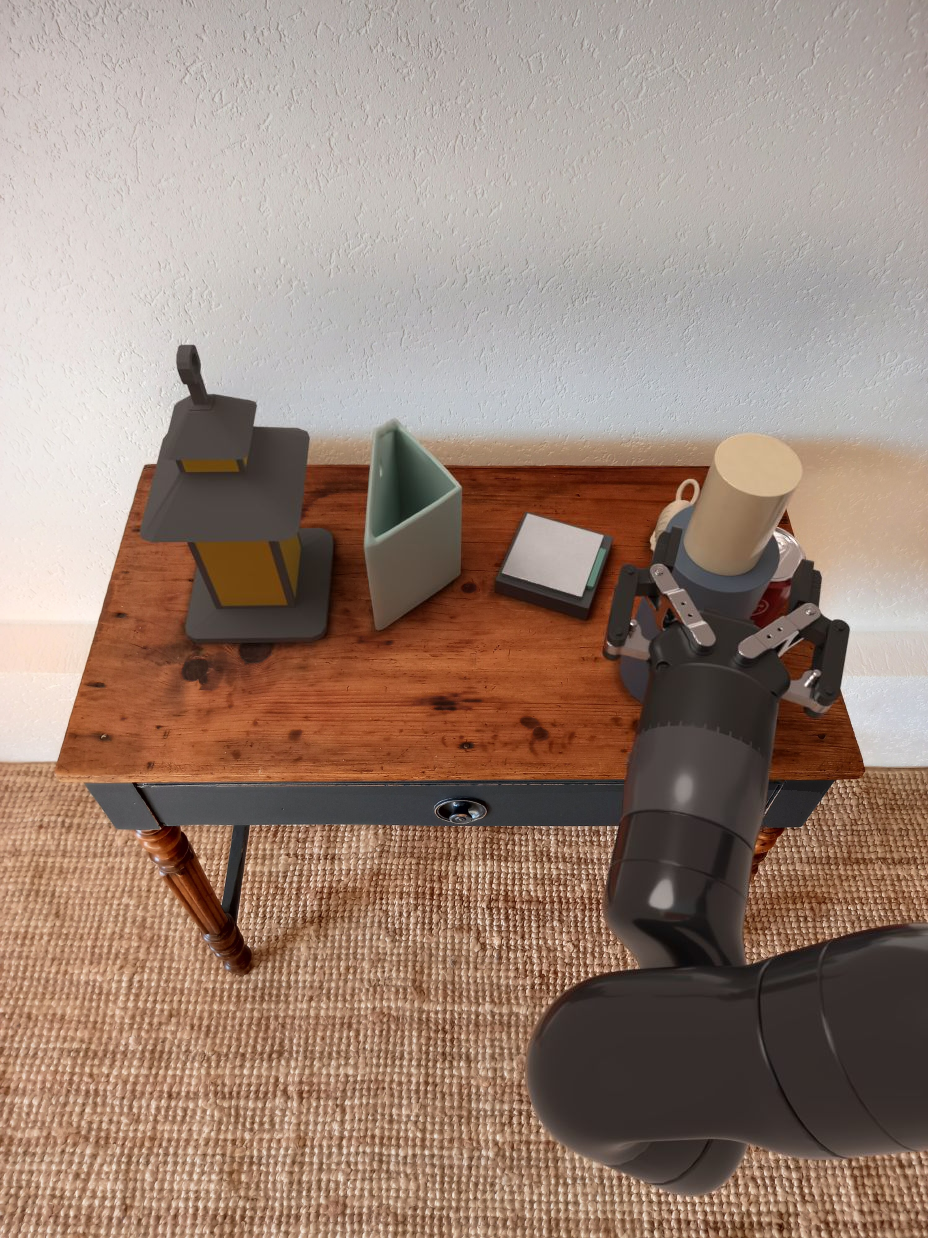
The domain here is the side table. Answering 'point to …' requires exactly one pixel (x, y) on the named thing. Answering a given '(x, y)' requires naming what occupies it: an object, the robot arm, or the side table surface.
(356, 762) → the side table surface
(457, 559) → the planter
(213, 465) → the lantern
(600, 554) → the scale
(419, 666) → the side table surface
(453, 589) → the side table surface
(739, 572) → the canister
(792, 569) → the soda can
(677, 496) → the decorative ornament
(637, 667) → the stand
